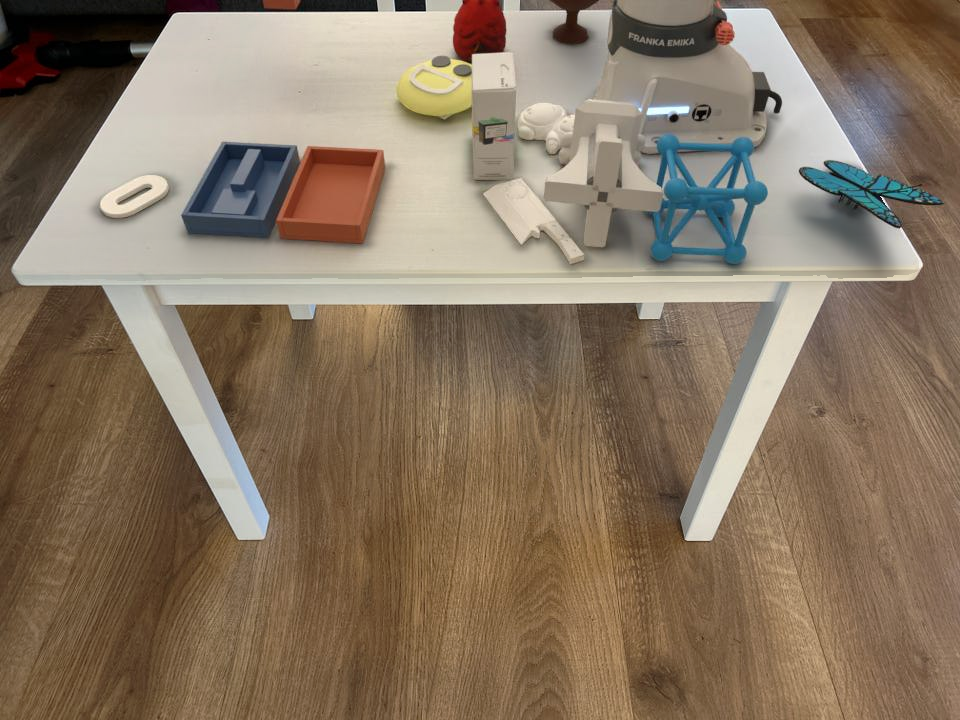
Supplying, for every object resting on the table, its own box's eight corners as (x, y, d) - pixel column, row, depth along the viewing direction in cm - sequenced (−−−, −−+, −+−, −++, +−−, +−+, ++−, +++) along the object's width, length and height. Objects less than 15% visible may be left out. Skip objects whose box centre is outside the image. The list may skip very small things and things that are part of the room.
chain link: (115, 219, 84) (91, 201, 86) (117, 223, 85) (93, 206, 87) (175, 186, 88) (151, 169, 90) (177, 190, 89) (152, 173, 91)
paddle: (274, 165, 91) (270, 149, 90) (246, 223, 84) (241, 207, 82) (243, 163, 91) (238, 148, 90) (213, 221, 84) (208, 205, 83)
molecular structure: (754, 132, 79) (657, 129, 79) (773, 191, 72) (667, 186, 73) (730, 210, 86) (642, 206, 87) (745, 269, 80) (649, 265, 80)
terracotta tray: (385, 167, 92) (383, 149, 90) (362, 243, 83) (360, 225, 81) (311, 163, 92) (307, 145, 90) (280, 238, 83) (275, 220, 81)
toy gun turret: (551, 125, 72) (560, 52, 85) (538, 240, 82) (549, 159, 95) (676, 136, 72) (667, 61, 85) (650, 252, 81) (645, 168, 94)
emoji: (446, 110, 94) (504, 65, 99) (375, 81, 99) (433, 39, 104) (449, 137, 97) (504, 91, 102) (380, 107, 102) (436, 65, 107)
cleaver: (541, 273, 79) (542, 265, 78) (483, 195, 88) (483, 187, 88) (584, 260, 81) (585, 252, 80) (522, 183, 90) (522, 175, 89)
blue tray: (300, 162, 92) (296, 145, 91) (268, 238, 83) (263, 219, 81) (227, 159, 93) (221, 141, 91) (187, 233, 84) (180, 215, 82)
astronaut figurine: (572, 168, 92) (575, 147, 89) (503, 128, 97) (504, 107, 95) (619, 140, 95) (623, 118, 93) (550, 103, 101) (551, 82, 99)
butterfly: (880, 254, 76) (910, 211, 73) (769, 193, 82) (793, 150, 79) (931, 224, 90) (957, 186, 87) (832, 173, 95) (854, 136, 92)
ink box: (471, 140, 96) (470, 50, 87) (511, 140, 96) (513, 50, 87) (472, 181, 90) (471, 89, 81) (514, 180, 90) (517, 88, 81)
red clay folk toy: (504, 45, 112) (506, -65, 101) (507, 69, 107) (510, -43, 96) (452, 46, 112) (449, -63, 100) (454, 70, 107) (450, -42, 96)
